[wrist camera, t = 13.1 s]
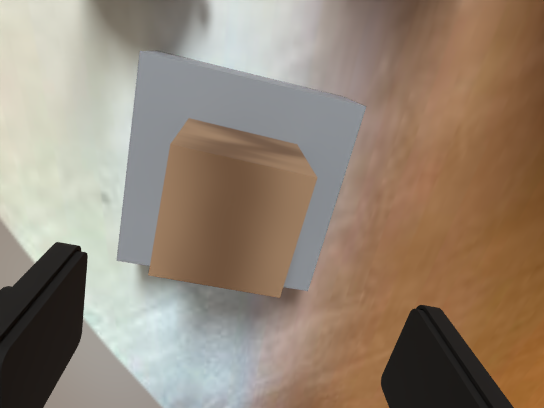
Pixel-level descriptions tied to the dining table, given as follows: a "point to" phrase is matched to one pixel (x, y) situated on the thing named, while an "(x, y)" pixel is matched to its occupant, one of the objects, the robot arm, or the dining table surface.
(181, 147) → the walnut cube
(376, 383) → the dining table surface
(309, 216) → the grey block
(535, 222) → the dining table surface
